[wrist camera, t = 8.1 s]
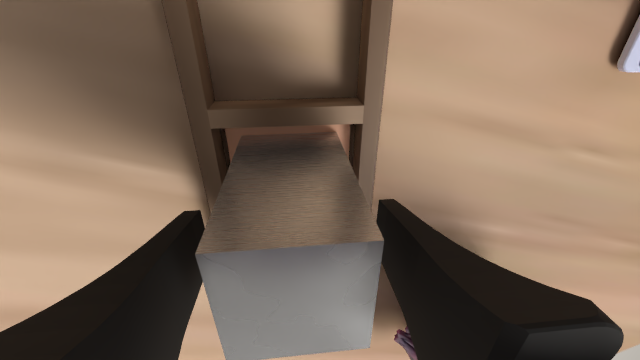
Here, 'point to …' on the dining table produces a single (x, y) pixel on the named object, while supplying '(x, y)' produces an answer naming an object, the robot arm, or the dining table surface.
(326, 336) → the square peg
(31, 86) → the dining table surface
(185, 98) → the rail
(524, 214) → the dining table surface
